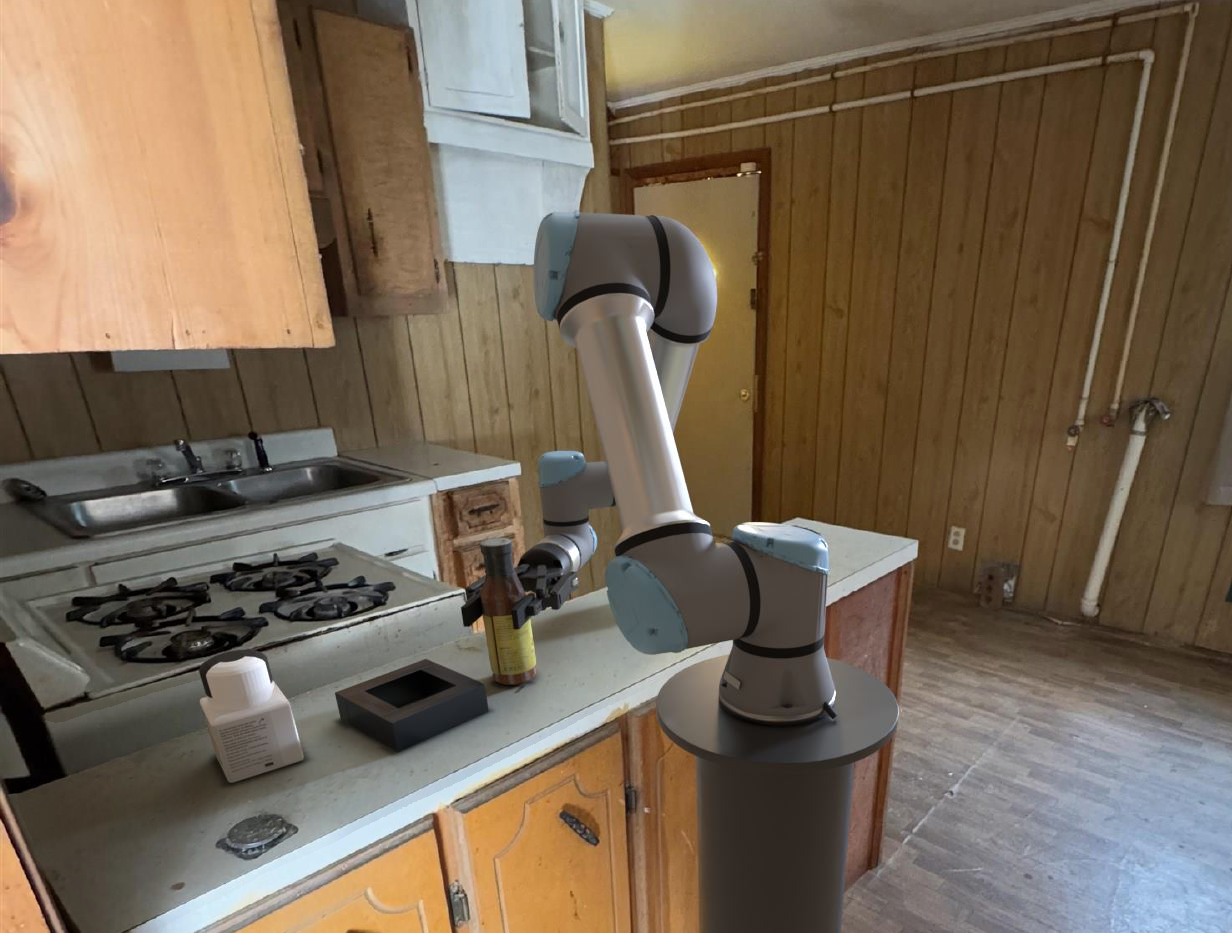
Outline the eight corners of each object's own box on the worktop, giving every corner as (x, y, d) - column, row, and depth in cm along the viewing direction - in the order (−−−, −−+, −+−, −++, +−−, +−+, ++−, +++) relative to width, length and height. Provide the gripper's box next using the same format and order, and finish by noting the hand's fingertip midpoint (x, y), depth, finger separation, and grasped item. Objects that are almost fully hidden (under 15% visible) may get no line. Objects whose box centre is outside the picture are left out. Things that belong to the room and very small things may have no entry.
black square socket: (488, 711, 101) (485, 683, 100) (397, 752, 92) (392, 723, 90) (430, 684, 109) (426, 658, 107) (340, 720, 99) (334, 692, 98)
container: (216, 756, 91) (184, 655, 86) (288, 735, 96) (262, 637, 90) (229, 785, 86) (196, 678, 80) (305, 761, 90) (279, 658, 85)
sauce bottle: (546, 673, 112) (534, 538, 104) (518, 691, 107) (503, 551, 98) (509, 664, 114) (494, 532, 106) (480, 681, 109) (463, 544, 101)
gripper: (609, 590, 123) (563, 648, 102) (493, 585, 125) (425, 641, 104) (606, 544, 120) (558, 594, 99) (487, 539, 122) (416, 588, 101)
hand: (490, 618), depth 101 cm, fingers closed on sauce bottle, 6 cm apart
